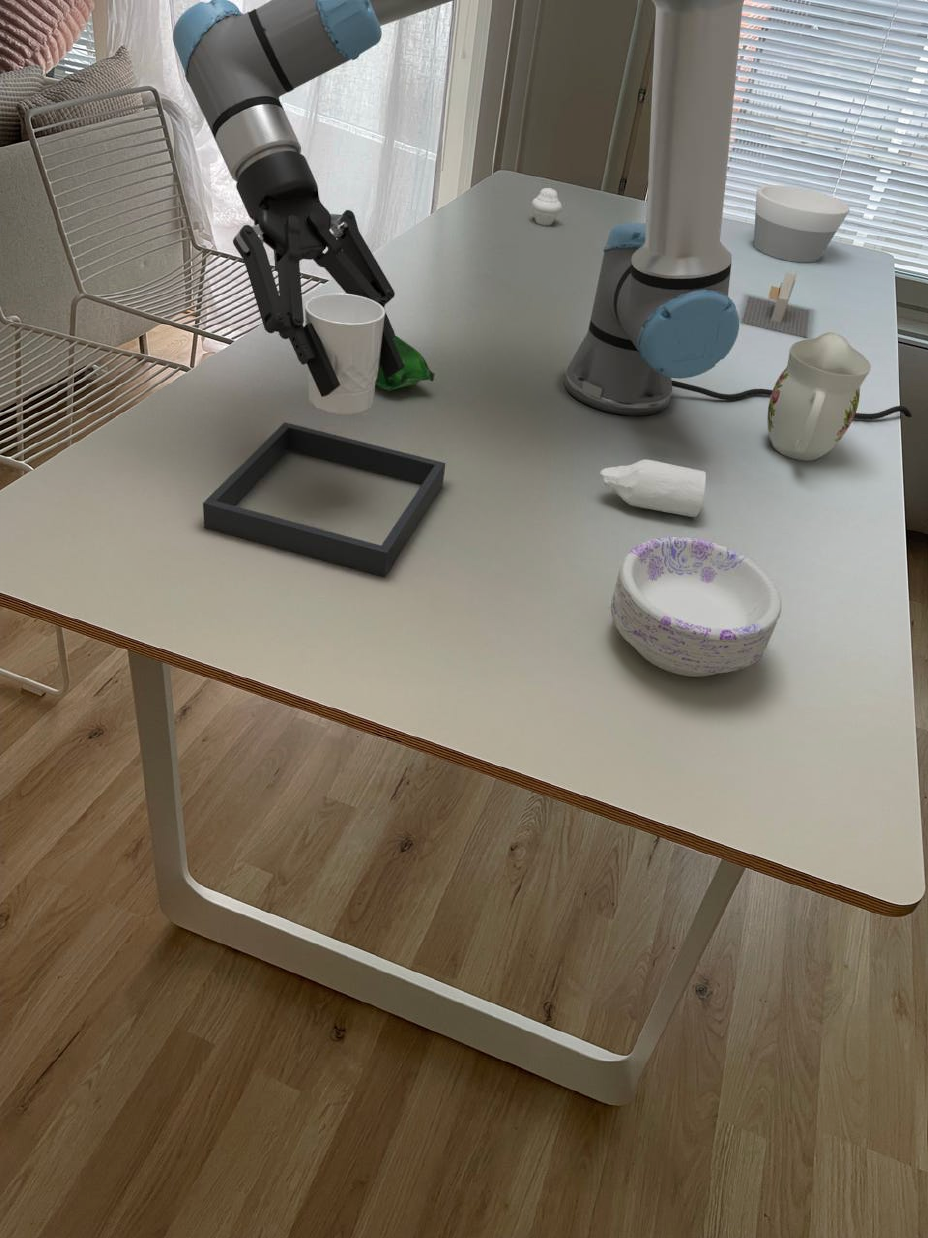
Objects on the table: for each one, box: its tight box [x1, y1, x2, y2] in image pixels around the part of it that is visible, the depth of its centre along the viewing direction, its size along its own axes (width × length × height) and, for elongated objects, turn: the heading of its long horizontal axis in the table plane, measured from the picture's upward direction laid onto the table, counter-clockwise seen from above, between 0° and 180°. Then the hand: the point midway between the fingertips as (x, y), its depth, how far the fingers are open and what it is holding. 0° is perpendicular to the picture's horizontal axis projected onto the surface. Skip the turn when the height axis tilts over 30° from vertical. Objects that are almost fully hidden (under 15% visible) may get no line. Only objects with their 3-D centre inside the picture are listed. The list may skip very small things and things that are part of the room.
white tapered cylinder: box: [599, 459, 707, 518], centre depth 114 cm, size 6×12×6 cm, turn 82°
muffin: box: [531, 187, 562, 226], centre depth 199 cm, size 6×6×7 cm
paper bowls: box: [610, 536, 783, 678], centre depth 92 cm, size 15×15×8 cm
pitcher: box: [767, 332, 872, 461], centre depth 127 cm, size 11×18×14 cm, turn 160°
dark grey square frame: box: [202, 421, 446, 578], centre depth 106 cm, size 20×20×3 cm
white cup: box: [304, 292, 386, 415], centre depth 99 cm, size 8×8×10 cm
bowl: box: [753, 184, 851, 264], centre depth 203 cm, size 19×19×11 cm
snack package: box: [375, 334, 436, 392], centre depth 132 cm, size 7×16×5 cm, turn 36°
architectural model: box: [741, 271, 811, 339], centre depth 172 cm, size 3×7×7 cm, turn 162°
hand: (363, 381), depth 98 cm, fingers closed on white cup, 8 cm apart
